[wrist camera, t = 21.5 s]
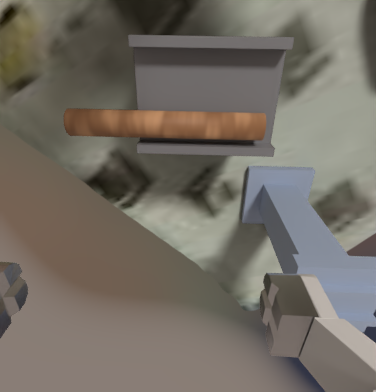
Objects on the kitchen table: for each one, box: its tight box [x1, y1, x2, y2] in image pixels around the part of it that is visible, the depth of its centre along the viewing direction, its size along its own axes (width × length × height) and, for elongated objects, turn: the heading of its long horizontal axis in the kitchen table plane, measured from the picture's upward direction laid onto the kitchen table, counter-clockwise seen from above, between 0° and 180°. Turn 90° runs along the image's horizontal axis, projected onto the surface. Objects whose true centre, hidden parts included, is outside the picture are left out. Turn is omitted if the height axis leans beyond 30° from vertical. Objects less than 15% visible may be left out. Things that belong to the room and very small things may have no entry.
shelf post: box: [241, 166, 376, 332], centre depth 41 cm, size 12×12×27 cm
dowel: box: [64, 109, 266, 141], centre depth 30 cm, size 22×3×3 cm
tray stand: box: [128, 35, 294, 157], centre depth 36 cm, size 16×12×18 cm
